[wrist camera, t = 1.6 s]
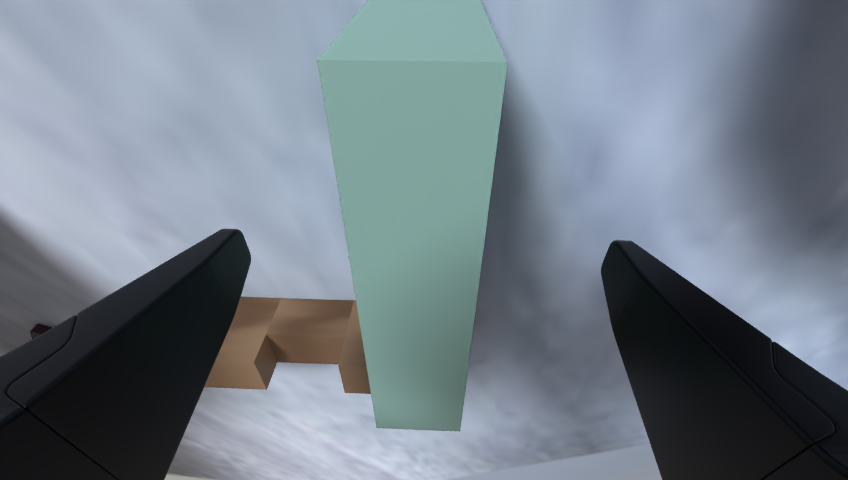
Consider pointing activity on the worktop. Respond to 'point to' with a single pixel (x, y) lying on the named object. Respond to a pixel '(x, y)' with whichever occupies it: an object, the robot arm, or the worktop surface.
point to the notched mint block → (415, 192)
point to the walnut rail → (290, 342)
